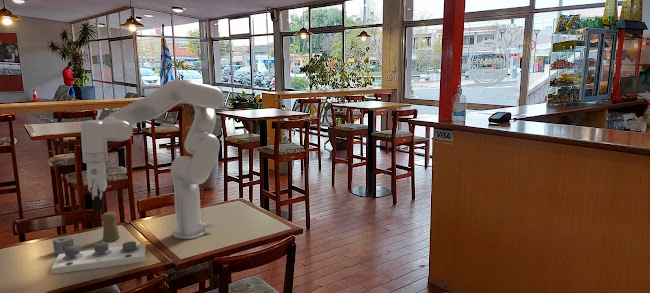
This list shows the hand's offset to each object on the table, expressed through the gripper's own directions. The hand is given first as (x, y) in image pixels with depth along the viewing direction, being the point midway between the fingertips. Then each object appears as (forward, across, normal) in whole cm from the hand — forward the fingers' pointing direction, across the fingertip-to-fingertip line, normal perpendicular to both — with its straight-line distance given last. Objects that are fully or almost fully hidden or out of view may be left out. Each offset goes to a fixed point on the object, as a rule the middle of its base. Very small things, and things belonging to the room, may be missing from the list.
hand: (98, 209), depth 153 cm
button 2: (+15, 0, -9) cm, 18 cm away
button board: (+18, -1, 0) cm, 18 cm away
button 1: (+15, +1, +9) cm, 17 cm away
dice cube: (+19, +12, +13) cm, 26 cm away
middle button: (+15, +1, 0) cm, 15 cm away
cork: (+18, +19, -2) cm, 26 cm away
